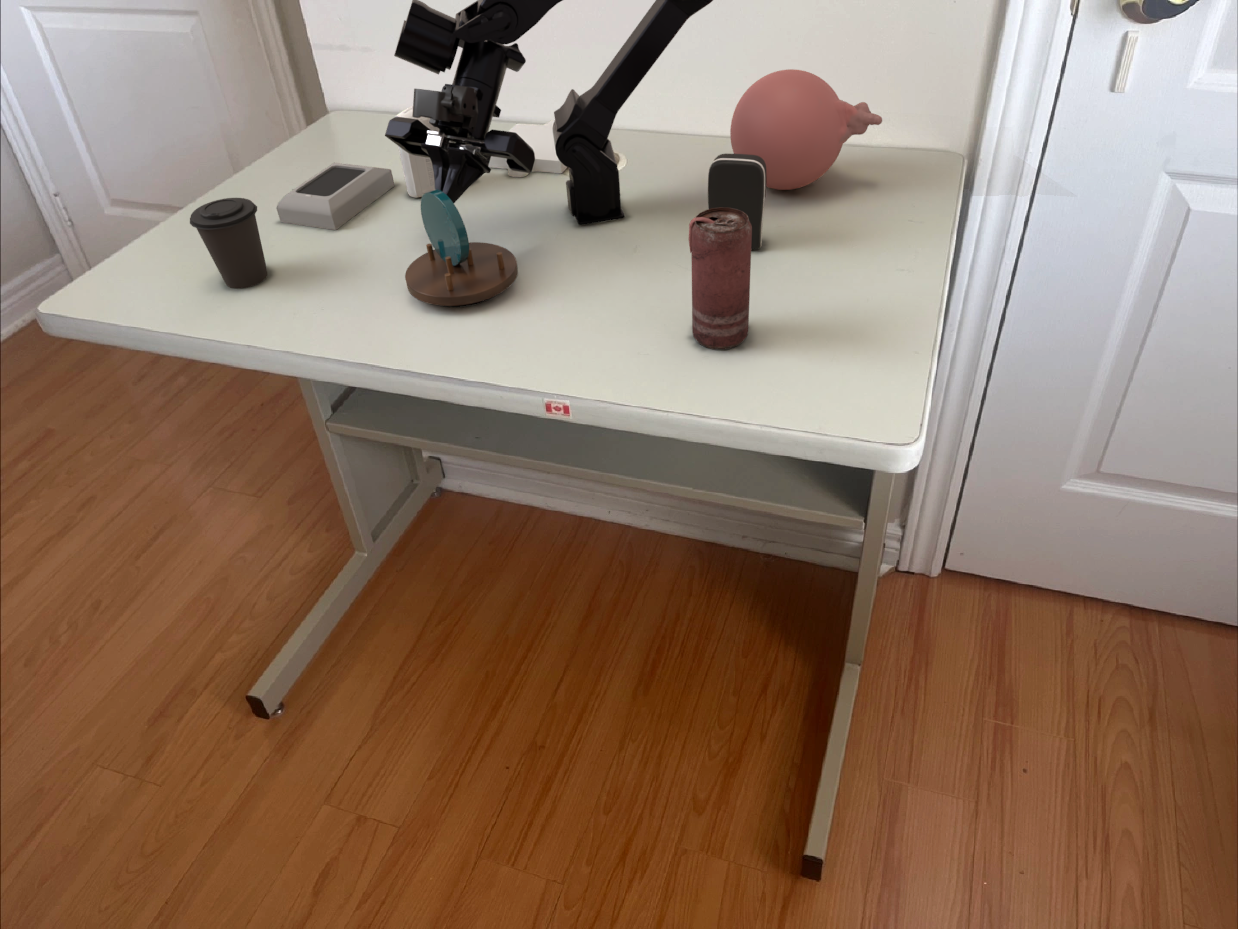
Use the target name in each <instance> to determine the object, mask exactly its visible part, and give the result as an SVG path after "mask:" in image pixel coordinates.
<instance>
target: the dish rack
mask: <svg viewBox="0 0 1238 929" xmlns="http://www.w3.org/2000/svg"><path fill="white" fill-rule="evenodd" d="M420 215H421V220H422V224H423V227H424V229H425V233H426V235H427V237H428V239H429V243H426V245H425V246H426V250H427V252H425V253H423V254H421V255H420V256H418V257H417V258H416V259H414V260H413V261H412V262H411V263H410V264H409V266H408V267H407V268H406V271H405V273H404V278H405V279H404V280H405V283H406V287H407V288H406V289H407V290H408V293H409V294H410V295H411V296H412V297H414V299H416V300H418V301H420V302H423V303H426V304H429V305H435V306H440V305H442V306H441V307H445V306H457V305H466V304H472V303H476V302H480V301H483V300H486V299H489V298H491V299H493V298H495V297H496V296H498V295H500V294H501V293H503V292H505V291H506V290H507V289H509V288H510V287H511V286H512V285H513V284H514V282H516V279H517V277H518V273H519V269H518V268H519V267H518V263H517V262H518V261H517V258H516V257H515V255H514V253H513V252H512V251H510V250H509V249H507V248H505V247H503V246H500V245H497V244H493V243H489V242H481V241H480V242H477V241H472V242H471V241H470V240H469V235H468V232H467V228H466V226H465V223H464V220H463V218H462V215H461V213H460V211H459V210H458V207H457V206H456V205H455V203H453V202H452V201H451V199H450V198H449V197H448V196H447V195H446V194H445V193H444V192H442V191H440V190H432V191H430V192H427V193H425V194H424V195H423V196H422V197H421V199H420ZM492 297H493V298H492ZM489 300H490V299H489Z"/></svg>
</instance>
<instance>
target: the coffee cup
mask: <svg viewBox="0 0 1238 929" xmlns="http://www.w3.org/2000/svg"><path fill="white" fill-rule="evenodd" d="M257 211H258V206H257V205H256V204H255V203H254V202H253V200H250V199H248V198H244V197H227V198H220V199H216V200H212V201H210V202H207V203H204V204H202V205H200V206H199V207H197V208H196V209H195V210H193V211H192V213H191V214H190V218H189V224H190V226H192V227H193V228H195V229H196V231H197V232H198V235H199V237H200V238H201V240H202V242H203V244H204V245H205V248H206V249H207V251H208V253H209V255H210V257H211V260H212V261H213V263H214V264H215V266H216V269H217V271H218V272H219V274H220V276H221V278H222V280H223V283H224V284H225V285H226V286H227V287H228V288H230V289H237V290H238V289H239V290H240V289H248V288H251V287H255V286H257V285H259V284H261V283H263V282H264V281H265V280H266V279H267V277H268V276H269V272H268V268H267V264H266V260H265V259H266V258H265V254H264V249H263V245H262V240H261V236H260V231H259V225H258V221H257V217H256V213H257Z"/></svg>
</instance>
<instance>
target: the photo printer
mask: <svg viewBox="0 0 1238 929" xmlns="http://www.w3.org/2000/svg"><path fill="white" fill-rule="evenodd" d="M412 115H413V105H411V106H409V107H407V108H405V109H404V110H402V111H400V112H399V113H397V114H396V115H395V116H394V117H404V118H411V119H418V120H419V121H420V122H421V123H423V124H424V125H425V126H426V127H428V128H429V129H430V130H431V131H435V132H439V128H438V127H434V126H433V125H431V124H430V123H429V121H430V118H427V117H420V118H416V117H412ZM449 142H450V141H449ZM451 143H453V142H451ZM397 148H398V151H399V157H400V161H401V166H402V172H403V176H404V181H405V186H406V191H407V194H408V195H409V196H410V197H411V198H416V199H417V198H422V196H423V195H424V194H425V193H427V192H430V191H432V190H435V182H434V181H435V180H434V172H433V166H432V162H431V159H430V158H428V157H421V156H415V155H412V154H409V153H407V152H406V151H405V150H403V149H402V148H401V147H399V146H398V145H397Z"/></svg>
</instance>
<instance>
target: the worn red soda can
mask: <svg viewBox="0 0 1238 929" xmlns="http://www.w3.org/2000/svg"><path fill="white" fill-rule="evenodd" d="M751 240H752V225H751V223H750V221H749V218H748V216H747V214H745V213H744V212H743V211H740V210H738V209H733V208H723V207H720V208H712V209H708V208H707V209H705V210H702V211H700V212H699V213H697V215H695V217H693V218H692V219H691V220H690V222H689V224H688V245H689V247H688V248H689V253H690V254H691V319H692V320H691V330H692V331H691V332H692V336H693V338H694V339H695V341H696V342H697V343H698V344H699V345H700V346H703V347H704V348H707V349H711V350H719V351H720V350H721V351H722V350H730V349H733V348H737V347H738V346H740V345H741V344H742V343H743V342H744V341H745V339H747V337H748V335H749V323H750V293H751V269H752V268H751V265H752V249H751Z"/></svg>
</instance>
